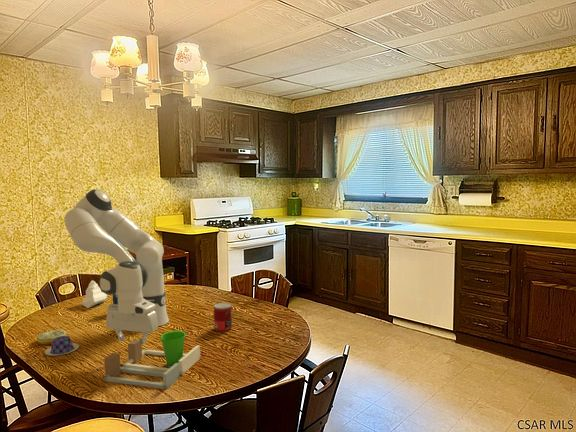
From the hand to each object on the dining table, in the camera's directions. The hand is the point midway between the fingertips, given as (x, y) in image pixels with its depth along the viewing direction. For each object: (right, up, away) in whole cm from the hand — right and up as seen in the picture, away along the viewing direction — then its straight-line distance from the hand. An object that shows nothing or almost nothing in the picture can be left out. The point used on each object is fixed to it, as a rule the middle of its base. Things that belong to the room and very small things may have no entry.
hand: (132, 341), depth 149 cm
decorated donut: (-42, -7, +20) cm, 47 cm away
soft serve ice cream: (-49, -2, +70) cm, 86 cm away
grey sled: (+9, -8, -14) cm, 19 cm away
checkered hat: (-32, -7, +11) cm, 35 cm away
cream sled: (+12, -7, -2) cm, 14 cm away
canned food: (+29, -4, +32) cm, 43 cm away
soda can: (-28, -3, +56) cm, 62 cm away
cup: (+17, -8, -3) cm, 19 cm away
